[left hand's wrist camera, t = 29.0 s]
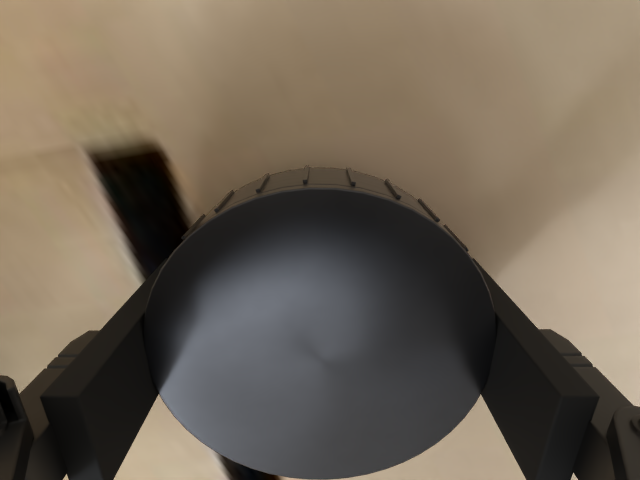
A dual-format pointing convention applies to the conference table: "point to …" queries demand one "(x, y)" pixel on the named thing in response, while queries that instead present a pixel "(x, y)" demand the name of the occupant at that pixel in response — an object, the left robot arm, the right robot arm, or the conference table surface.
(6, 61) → the conference table surface
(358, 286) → the lid
